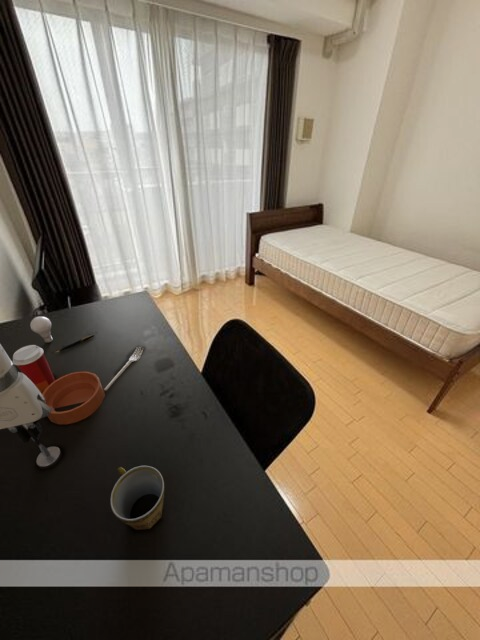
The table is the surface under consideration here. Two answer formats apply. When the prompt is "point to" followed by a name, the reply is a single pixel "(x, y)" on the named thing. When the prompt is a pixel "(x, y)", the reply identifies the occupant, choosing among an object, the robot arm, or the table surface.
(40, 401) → the robot arm
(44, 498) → the table surface
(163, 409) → the table surface
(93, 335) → the fountain pen
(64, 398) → the bowl
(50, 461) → the grey disc on stem
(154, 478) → the ceramic cup
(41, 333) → the lightbulb
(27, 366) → the paper cup
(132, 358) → the fork
